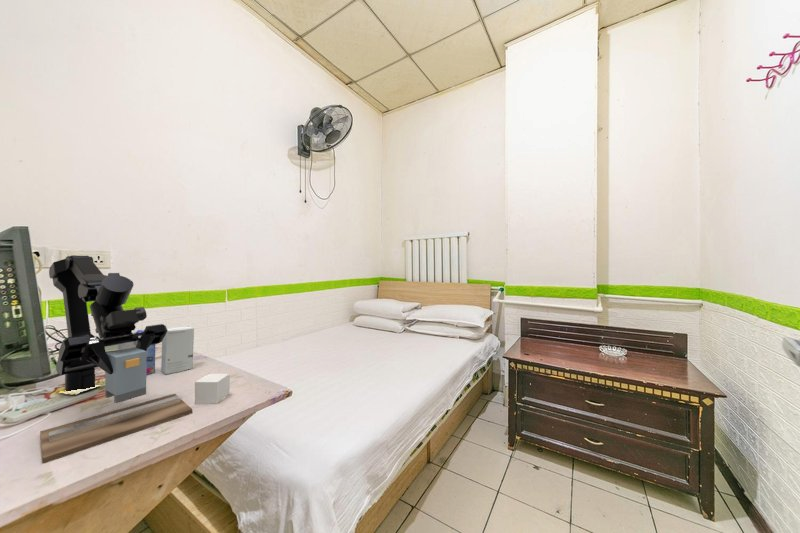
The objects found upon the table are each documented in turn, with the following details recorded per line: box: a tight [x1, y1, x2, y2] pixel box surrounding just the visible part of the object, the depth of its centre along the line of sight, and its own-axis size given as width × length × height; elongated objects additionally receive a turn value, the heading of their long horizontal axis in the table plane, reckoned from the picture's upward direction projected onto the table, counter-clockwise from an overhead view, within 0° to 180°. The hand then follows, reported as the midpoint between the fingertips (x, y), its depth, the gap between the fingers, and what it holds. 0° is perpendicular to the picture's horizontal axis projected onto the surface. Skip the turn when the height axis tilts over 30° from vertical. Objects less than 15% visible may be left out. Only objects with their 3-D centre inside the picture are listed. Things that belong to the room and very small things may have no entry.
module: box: [104, 347, 147, 404], centre depth 70 cm, size 7×6×10 cm
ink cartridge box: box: [117, 329, 157, 376], centre depth 99 cm, size 10×6×14 cm, turn 78°
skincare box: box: [160, 325, 195, 376], centre depth 103 cm, size 8×6×15 cm
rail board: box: [39, 393, 193, 464], centre depth 69 cm, size 14×24×2 cm, turn 142°
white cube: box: [194, 373, 231, 405], centre depth 82 cm, size 6×6×6 cm
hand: (128, 369), depth 69 cm, fingers closed on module, 5 cm apart
